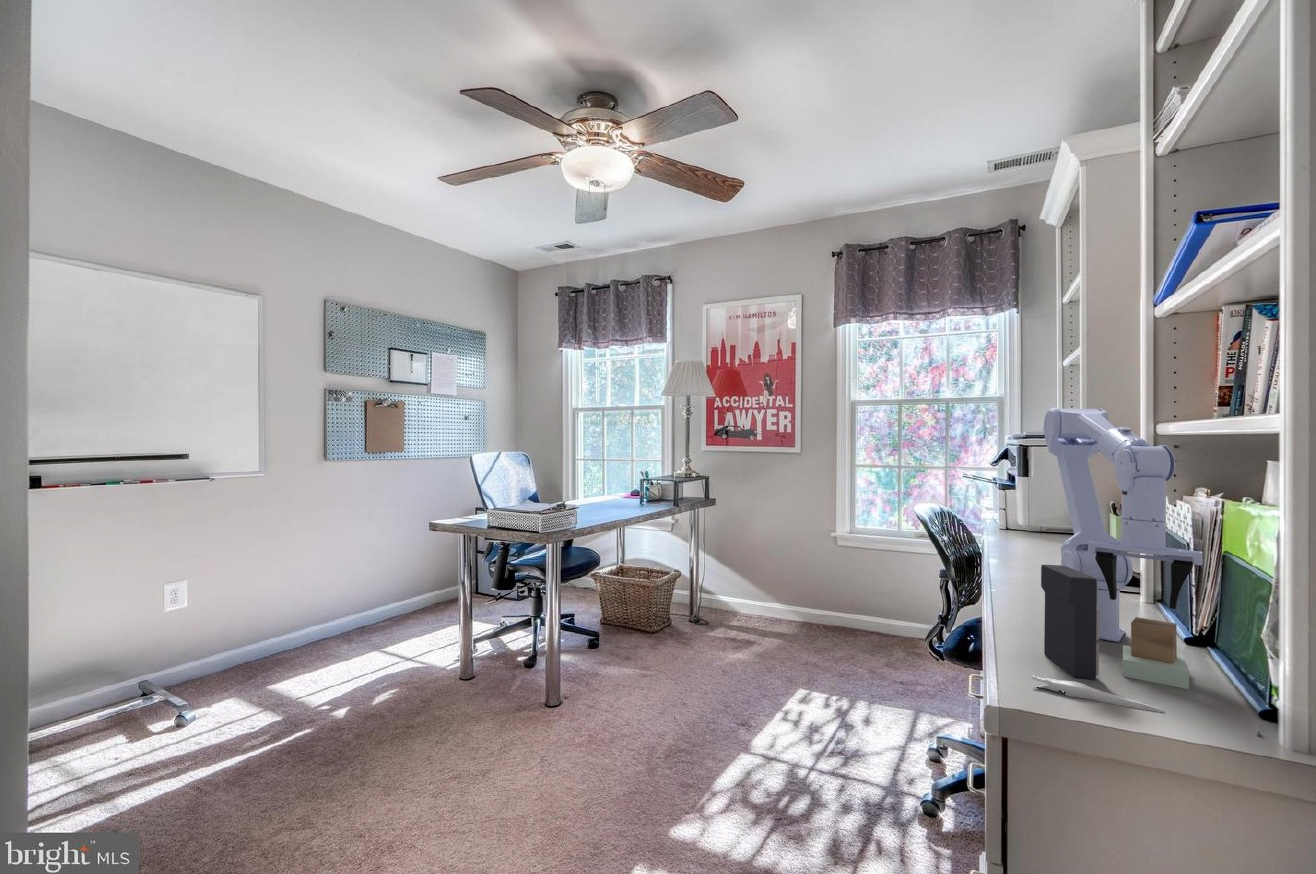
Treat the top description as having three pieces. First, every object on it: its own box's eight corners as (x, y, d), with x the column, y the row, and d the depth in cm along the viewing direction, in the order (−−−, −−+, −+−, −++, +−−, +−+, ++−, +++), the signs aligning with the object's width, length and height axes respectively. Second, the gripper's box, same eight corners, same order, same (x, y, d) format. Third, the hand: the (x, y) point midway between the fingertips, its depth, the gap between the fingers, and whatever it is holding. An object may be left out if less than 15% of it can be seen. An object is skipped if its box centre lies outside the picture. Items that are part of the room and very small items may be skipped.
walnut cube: (1135, 648, 99) (1135, 617, 99) (1176, 656, 95) (1176, 623, 95) (1131, 655, 95) (1131, 622, 95) (1173, 663, 92) (1173, 629, 92)
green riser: (1122, 663, 100) (1122, 645, 100) (1184, 674, 96) (1184, 655, 96) (1122, 679, 93) (1123, 659, 93) (1189, 692, 89) (1189, 671, 89)
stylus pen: (1030, 688, 87) (1031, 675, 87) (1031, 683, 90) (1032, 670, 90) (1166, 722, 79) (1167, 707, 79) (1164, 715, 81) (1165, 701, 81)
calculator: (1102, 681, 91) (1103, 579, 91) (1069, 678, 92) (1070, 577, 92) (1068, 656, 102) (1069, 565, 102) (1039, 654, 103) (1040, 563, 103)
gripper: (1085, 517, 103) (1084, 598, 102) (1201, 526, 93) (1200, 616, 93) (1092, 514, 108) (1091, 592, 108) (1203, 522, 98) (1202, 608, 98)
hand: (1142, 603), depth 100 cm, fingers open, 7 cm apart
